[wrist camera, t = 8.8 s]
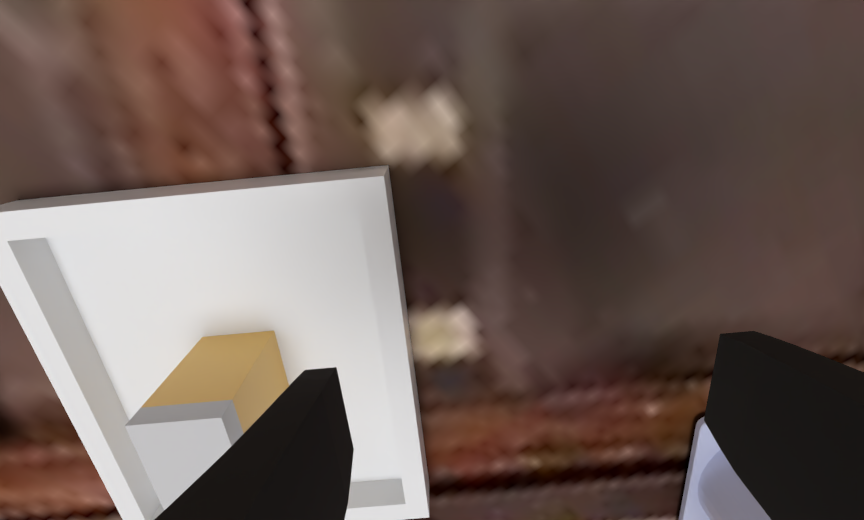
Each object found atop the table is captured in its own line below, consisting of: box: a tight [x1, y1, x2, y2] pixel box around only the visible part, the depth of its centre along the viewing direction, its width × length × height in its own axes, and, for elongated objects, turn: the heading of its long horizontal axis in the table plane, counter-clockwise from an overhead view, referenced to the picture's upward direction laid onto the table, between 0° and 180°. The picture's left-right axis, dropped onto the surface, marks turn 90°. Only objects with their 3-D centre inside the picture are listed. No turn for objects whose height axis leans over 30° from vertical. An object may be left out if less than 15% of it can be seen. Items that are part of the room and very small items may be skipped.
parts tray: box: [0, 165, 429, 520], centre depth 18 cm, size 14×16×2 cm
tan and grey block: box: [125, 331, 289, 510], centre depth 16 cm, size 3×4×5 cm, turn 5°
